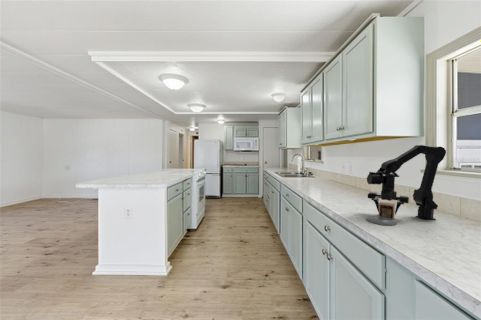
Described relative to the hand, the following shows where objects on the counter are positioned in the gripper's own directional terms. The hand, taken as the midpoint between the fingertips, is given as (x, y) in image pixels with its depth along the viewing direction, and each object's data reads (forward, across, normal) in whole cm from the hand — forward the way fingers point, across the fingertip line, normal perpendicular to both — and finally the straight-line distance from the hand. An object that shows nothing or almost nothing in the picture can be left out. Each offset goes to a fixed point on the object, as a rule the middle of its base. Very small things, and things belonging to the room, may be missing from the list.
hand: (386, 212), depth 125 cm
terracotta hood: (+2, 0, 0) cm, 2 cm away
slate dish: (+2, -1, -13) cm, 13 cm away
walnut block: (+2, 0, 0) cm, 2 cm away
